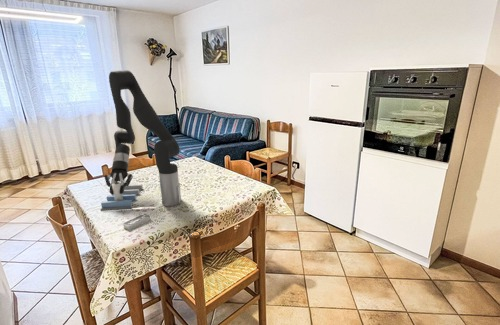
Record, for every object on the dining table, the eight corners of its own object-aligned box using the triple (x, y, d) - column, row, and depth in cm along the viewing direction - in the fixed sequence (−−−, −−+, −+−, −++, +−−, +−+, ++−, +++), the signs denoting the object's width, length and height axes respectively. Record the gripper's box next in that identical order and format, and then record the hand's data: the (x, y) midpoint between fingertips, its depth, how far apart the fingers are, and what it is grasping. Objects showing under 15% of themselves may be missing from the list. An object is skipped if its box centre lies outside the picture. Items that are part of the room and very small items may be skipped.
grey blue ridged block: (143, 188, 157) (142, 183, 156) (130, 209, 133) (129, 202, 132) (118, 190, 156) (117, 184, 155) (100, 210, 131) (99, 204, 130)
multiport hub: (123, 227, 117) (122, 223, 116) (145, 217, 125) (144, 213, 125) (129, 231, 114) (128, 226, 114) (151, 220, 123) (150, 215, 122)
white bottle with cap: (124, 198, 139) (121, 179, 136) (121, 201, 135) (118, 182, 132) (116, 198, 139) (113, 180, 136) (113, 202, 135) (110, 183, 132)
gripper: (103, 160, 137) (98, 191, 130) (132, 159, 139) (128, 190, 131) (109, 167, 144) (104, 197, 136) (136, 165, 146) (133, 195, 138)
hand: (116, 193), depth 134 cm, fingers closed on white bottle with cap, 3 cm apart
